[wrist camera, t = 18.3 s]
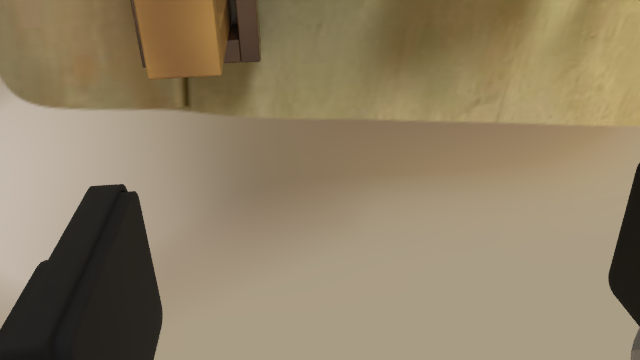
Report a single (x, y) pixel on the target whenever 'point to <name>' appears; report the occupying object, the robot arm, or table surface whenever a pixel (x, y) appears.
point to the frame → (183, 36)
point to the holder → (233, 32)
